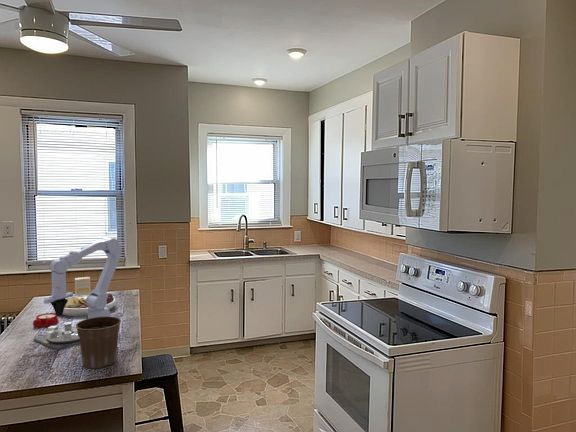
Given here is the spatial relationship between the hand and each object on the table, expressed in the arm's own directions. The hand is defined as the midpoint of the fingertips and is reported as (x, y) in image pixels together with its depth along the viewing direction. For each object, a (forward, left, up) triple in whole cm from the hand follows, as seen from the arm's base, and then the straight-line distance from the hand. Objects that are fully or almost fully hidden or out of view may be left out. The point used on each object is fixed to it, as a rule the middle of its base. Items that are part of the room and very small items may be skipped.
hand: (59, 315), depth 200 cm
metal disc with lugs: (0, +7, -8) cm, 11 cm away
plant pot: (+7, +42, -10) cm, 44 cm away
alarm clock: (-5, -21, -10) cm, 24 cm away
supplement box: (-42, -52, -10) cm, 68 cm away
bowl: (-31, -30, -10) cm, 44 cm away
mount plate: (0, +7, -9) cm, 12 cm away
